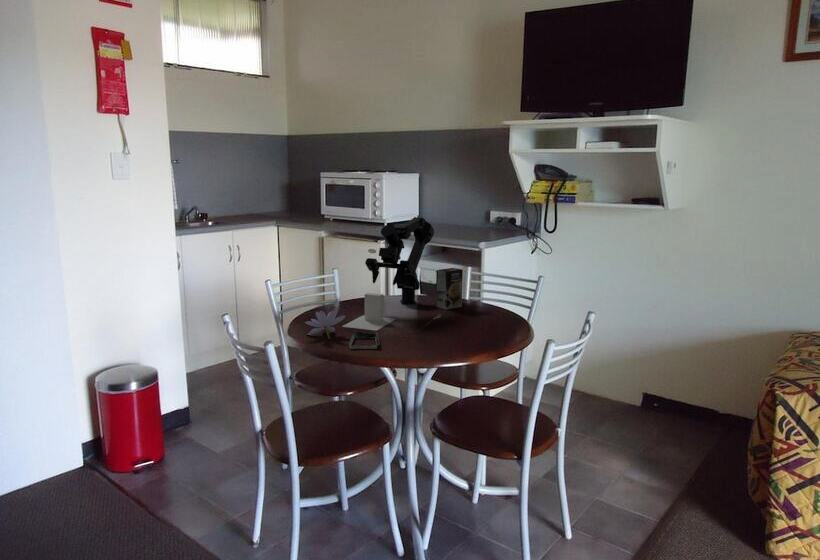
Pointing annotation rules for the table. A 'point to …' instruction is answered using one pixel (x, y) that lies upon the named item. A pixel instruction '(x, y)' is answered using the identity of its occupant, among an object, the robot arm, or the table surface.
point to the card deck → (374, 307)
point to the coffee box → (449, 288)
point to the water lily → (324, 322)
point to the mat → (368, 323)
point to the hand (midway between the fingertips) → (383, 283)
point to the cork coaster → (437, 316)
